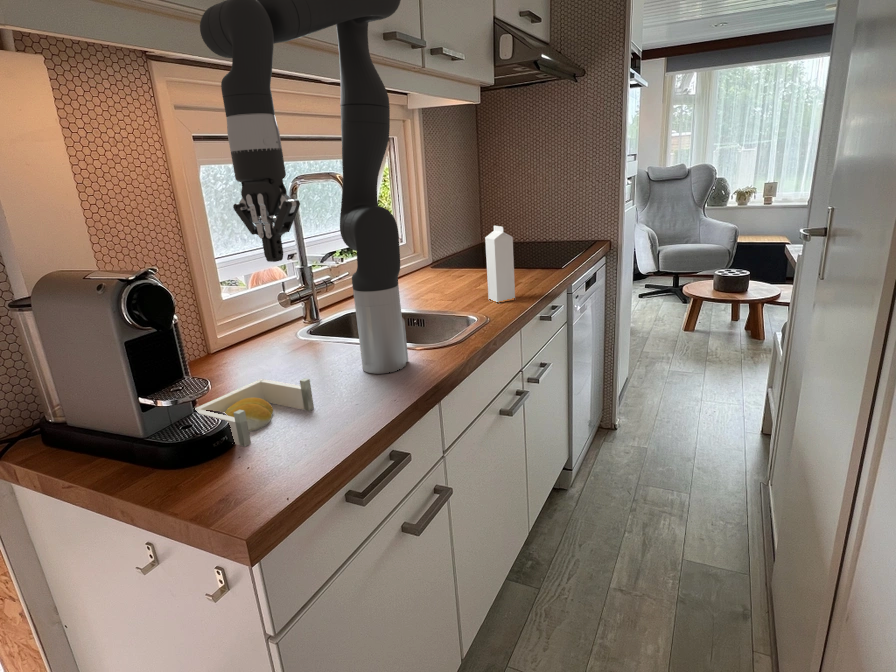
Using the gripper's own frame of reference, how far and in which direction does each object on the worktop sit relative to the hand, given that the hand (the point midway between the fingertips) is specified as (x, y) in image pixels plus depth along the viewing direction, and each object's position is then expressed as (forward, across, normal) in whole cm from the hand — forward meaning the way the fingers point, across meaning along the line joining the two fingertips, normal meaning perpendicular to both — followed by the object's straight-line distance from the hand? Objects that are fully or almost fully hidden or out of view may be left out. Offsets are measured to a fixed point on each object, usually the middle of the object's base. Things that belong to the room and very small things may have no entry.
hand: (274, 260), depth 91 cm
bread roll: (+27, +6, +6) cm, 29 cm away
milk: (+27, +1, -85) cm, 89 cm away
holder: (+27, +5, +5) cm, 28 cm away
